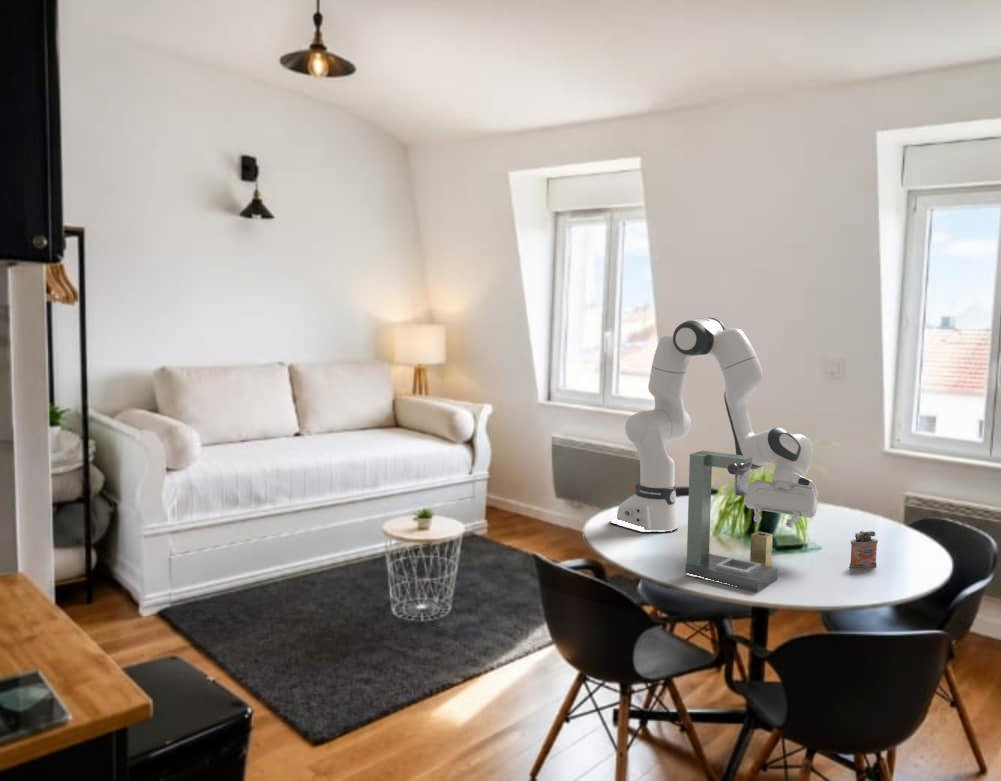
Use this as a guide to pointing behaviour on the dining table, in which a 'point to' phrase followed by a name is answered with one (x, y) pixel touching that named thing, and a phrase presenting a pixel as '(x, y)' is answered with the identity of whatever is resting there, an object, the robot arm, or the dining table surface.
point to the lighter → (863, 550)
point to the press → (699, 524)
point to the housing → (761, 548)
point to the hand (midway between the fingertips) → (772, 523)
